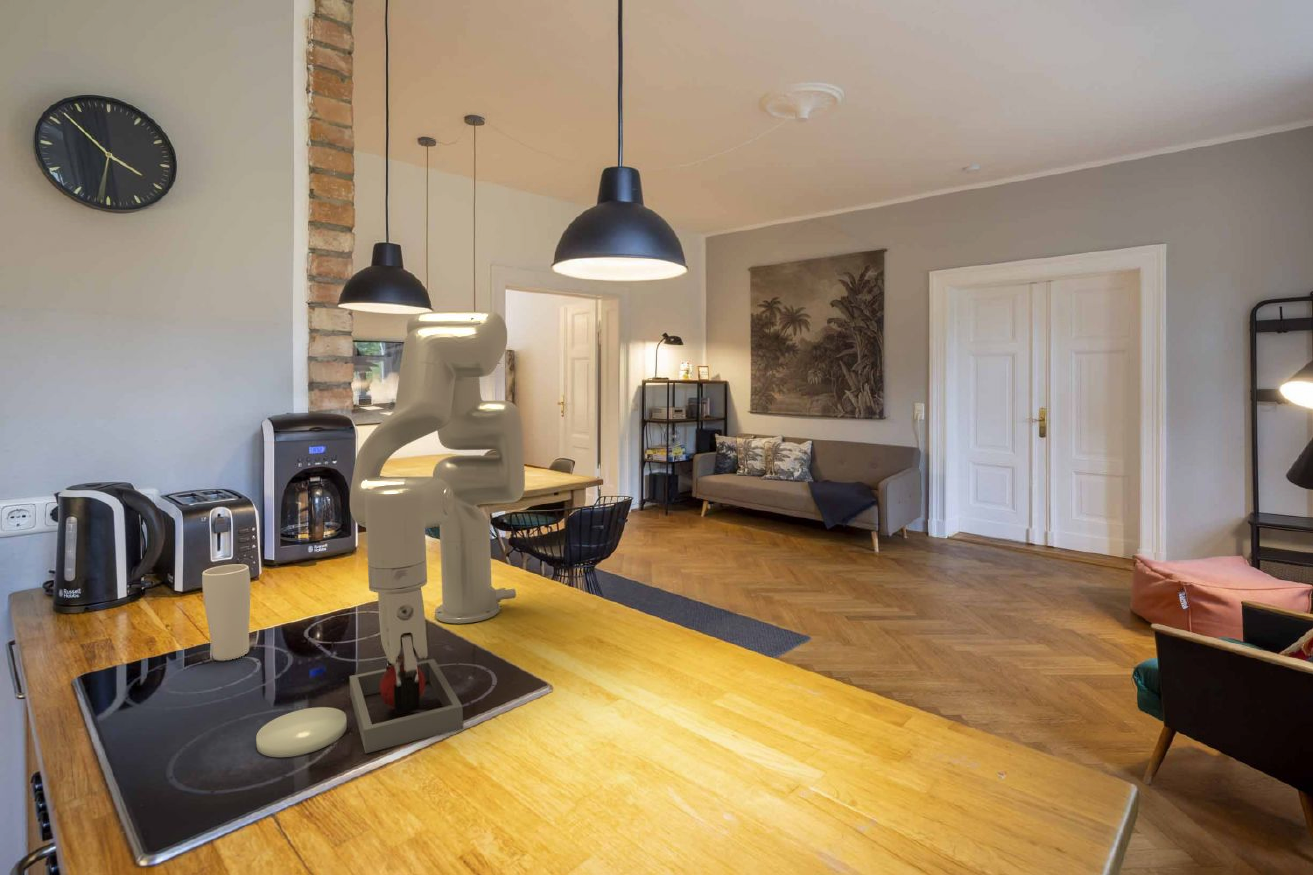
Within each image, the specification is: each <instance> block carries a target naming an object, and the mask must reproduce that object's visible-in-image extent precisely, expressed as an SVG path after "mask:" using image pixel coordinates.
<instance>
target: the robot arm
mask: <svg viewBox="0 0 1313 875" xmlns="http://www.w3.org/2000/svg"><path fill="white" fill-rule="evenodd" d="M406 333H407V334H406V336H405V340H404V342H403V347H402V354H401V360H400V367H399V375H398V381H397V382H398V384H397V390H396V394H395V395H396V396H395V397H396V398H395V403H394V404H395V405H394V408H393V411H392V413H391V414H389V416H387V417H386V418H385V419H384V420H382V422H380V423H379V425H377V426H376V427H375V428H374V429H373V430H372V432H371V433H370V434H369V436H368V437H367V438H366V439H365V441H364V442H363V444H362V445H361V447H360V448H359V451H358V453H357V455H356V458H355V462H354V467H353V472H352V479H351V485H350V491H349V493H350V494H349V512H350V515H351V517H352V519H353V520H354V522H355V523H356V524H357V525H358V526H361V527H362V528H363V527H364V528H365V530H366V531H365V534H366V555H367V576H368V590H369V591H370V592H373V593H377V594H378V595H377V596H378V597H377V600H378V618H379V619H378V620H379V623H378V624H379V631H380V633H379V634H380V639H381V640H380V641H381V645H382V649H383V651H384V653H385V654H384V655H385V657H386V664H387V666H386V668H385V669H386V671H387V670H388V669H389V668H390V666H392V665H394V669H395V680H396V684H395V685H394V707H395V709H394V712H395V715H397V716H398V715H402V714H406V713H410V712H415V711H418V710H420V708H421V697H420V690H419V680H418V670H417V662H418V661H417V657H418V658H419V659H420V660H421V659H422V661H425V660H426V659H427V657H429V656H428V655H429V652H428V640H427V628H426V626H427V625H426V616H425V614H426V613H425V606H424V605H425V604H424V596H423V592H422V587H424V586H426V585H427V584H428V570H427V545H426V541H427V540H426V529H430V528H435V527H439V543H440V546H439V548H440V570H441V571H440V572H441V574H440V576H441V596H442V597H441V599H442V600H441V601H442V604H440V605H439V606H437V607H436V608H435V609H434V618H435V619H436V620H437V621H440V622H442V623H446V624H447V623H448V624H470V623H476V622H482V621H485V620H488V619H491V618H493V617H495V616H496V615H497V614H499V613H500V611H501V604H500V603H501V601H502V600H511V599H516V597H517V593H516V589H515V588H509V589H506V587H503V588H502V587H501V588H497V589H495V588H494V587H493V586H492V557H491V556H492V555H491V527H490V524H489V521H488V519H487V517H486V516H485V514H484V513H483V512H482V510H481V509H480V508H479V507H478V506H477V505H482V504H483V505H484V504H485V505H487V504H490V505H491V504H512V503H515V502H518V501H519V500H521V498H522V497H523V495H524V492H525V489H526V488H525V487H526V475H525V471H526V470H525V455H524V437H523V435H524V434H523V425H522V418H521V413H520V411H519V409H518V407H517V406H516V404H514V402H511V401H508V400H483V399H482V396H481V394H482V393H481V381H480V378H484V377H488V376H489V375H490V376H491V374H493V372H494V371H495V370H496V368H497V366H498V364H499V363H500V362H501V359H502V357H503V355H504V354H505V352H506V348H507V343H508V329H507V325H506V322H505V319H504V318H503V317H502V316H501V315H500V314H499V313H497V312H494V311H455V310H454V311H427V312H426V311H425V312H421V313H417V314H414V315H412V316H410V318H409V319H408V321H407V324H406ZM436 431H437V437H438V439H439V443H440V444H441V446H443V447H444V448H445V449H449V450H455V451H479V450H480V451H481V450H482V451H487V450H488V451H489V450H490V451H496V452H497V454H496V455H494V454H493V455H491V454H489V455H488V454H487V455H480V454H479V455H478V454H477V455H476V454H475V455H470V454H469V455H468V454H467V455H452V456H449V457H446V458H443V459H441V460H439V461H438V462H437V463H436V464H435V466H434V468H433V472H432V476H425V475H424V476H381V473H382V470H383V469H384V468H383V467H384V465H385V464H386V463H387V461H388V460H389V458H390V457H391V456H392V455H393V454H395V452H397V451H399V449H402V448H403V447H405V446H406V445H409V444H411V443H412V442H415V441H417V440H419V439H421V438H424V437H426V436H428V435H430V434H433V433H435V432H436ZM402 656H403V660H404V661H399V662H398V659H399V658H400V657H402ZM403 665H404V670H402V671H401V673H400V666H403Z"/></svg>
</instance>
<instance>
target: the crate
mask: <svg viewBox="0 0 1313 875" xmlns="http://www.w3.org/2000/svg"><path fill="white" fill-rule="evenodd" d="M417 667H418V668H419V669H420V670H421V672H422V674H423V676H424V679H425V683H427V682H429V684H430V685H431V687H432V689H433V691H434V693H435V695H436V696H437V698H438V700H439V703H440V704H441V706H442V707H439V708H434V709H431V710H426V711H422V712H419V713H414V714H410V715H406V716H402V717H397V718H393V719H389V720H385V721H382V722H377V723H374V724H372V721H371V720H372V719H371V717H370V714H369V711H368V708H367V707H368V706H367V705H366V700H365V697H366V696H369V695H374V694H379V693H381V691H380V684H381V680H382V678H383V676H384V674H385V673H386V668H383V669H378V670H373V671H368V672H364V673H358V674H354V675H353V674H352V675H349V676H348V677H349V692H350V693H349V696H350V700H351V704H352V707H353V711H354V715H355V719H356V723H357V727H358V730H359V734H360V738H361V741H362V745H363V750H364V753H365V754H369V753H373V752H377V751H379V750H385V749H389V748H392V747H395V746H399V745H403V744H407V743H411V742H414V741H418V740H423V739H427V738H431V737H434V736H438V735H441V734H446V733H449V732H452V731H453V732H454V731H457V730H460V729H463V728H464V718H463V717H464V714H463V711H464V710H463V705H462V703H461V701H460V699H459V698H458V696H457V695H456V692H455V691H454V689H453V688H452V687H451V685H450V683H449V682H448V680H447V677H446V676H445V675H444V674H443V672H442V670H441V668H440V666H439V665H438V662H436V659H435V658H431V659H427V660H426V659H424V660H422V661H421V660H420V661H417Z"/></svg>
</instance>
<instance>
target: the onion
mask: <svg viewBox="0 0 1313 875" xmlns="http://www.w3.org/2000/svg"><path fill="white" fill-rule="evenodd" d="M399 661H404V660H403V656H402V657H400V658H399V659H398V662H399ZM389 667H390V668H389V669H388V670H387V671H386V673H385V674H384V676H383V678H382V680H381V684H380V691H381V692H380V695H381V696H380V697H381V699H382V701H383V702H384V703H385V705H387V706H388V707H390V708H392V709H394V710H395V707H394V685H395V684H396V680H395V669H394V665H392V666H389ZM402 670H404V665H403V666H400V673H401V671H402ZM417 670H418V680H419V690H420V698H421V697H422V696H423V694H424V691H425V688H426V682H425V679H424V676H423V674H422V672H421V670H420V669H419V668H418V667H417Z"/></svg>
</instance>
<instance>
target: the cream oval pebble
mask: <svg viewBox="0 0 1313 875" xmlns="http://www.w3.org/2000/svg"><path fill="white" fill-rule="evenodd" d="M347 727H348V724H347V714H346V713H345V712H344V711H343V710H341V709H338V708H335V707H330V706H329V707H326V706H322V707H321V706H318V707H310V708H305V709H300V710H295V711H292V712H289V713H285V714H283V715H280V716H278V717H276V718H274V719H272V720H270V721H268V722H267V723H266V724H264V725H263V726H262V727H261V728H259V730H258V732H257V734H256V737H255V738H256V739H255V742H256V748H257V751H258V752H259V753H260V754H262V755H263V756H267V757H272V758H291V757H297V756H302V755H306V754H309V753H313V752H316V751H318V750H321V749H323V748H326V747H328V746H330V745H331V744H333V743H335V742H336V741H338V740H339V739H341V737H342V736H344V734H345V733H346V731H347Z"/></svg>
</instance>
